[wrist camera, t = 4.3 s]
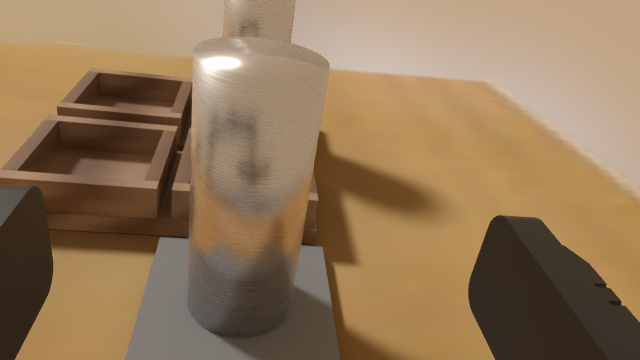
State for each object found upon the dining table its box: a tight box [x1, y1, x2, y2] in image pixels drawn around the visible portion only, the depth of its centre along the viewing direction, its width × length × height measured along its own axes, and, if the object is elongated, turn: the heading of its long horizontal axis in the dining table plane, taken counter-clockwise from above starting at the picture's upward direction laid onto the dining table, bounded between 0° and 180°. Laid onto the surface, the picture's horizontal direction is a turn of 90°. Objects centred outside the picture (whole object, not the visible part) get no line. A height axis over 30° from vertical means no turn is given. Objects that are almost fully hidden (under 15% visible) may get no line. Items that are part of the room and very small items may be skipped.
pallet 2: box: [0, 115, 319, 245], centre depth 32 cm, size 18×9×3 cm, turn 96°
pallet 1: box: [57, 68, 193, 151], centre depth 41 cm, size 18×9×3 cm, turn 96°
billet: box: [223, 0, 296, 43], centre depth 39 cm, size 5×5×12 cm
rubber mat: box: [125, 237, 341, 360], centre depth 25 cm, size 9×9×1 cm
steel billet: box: [187, 37, 330, 338], centre depth 22 cm, size 5×5×12 cm
